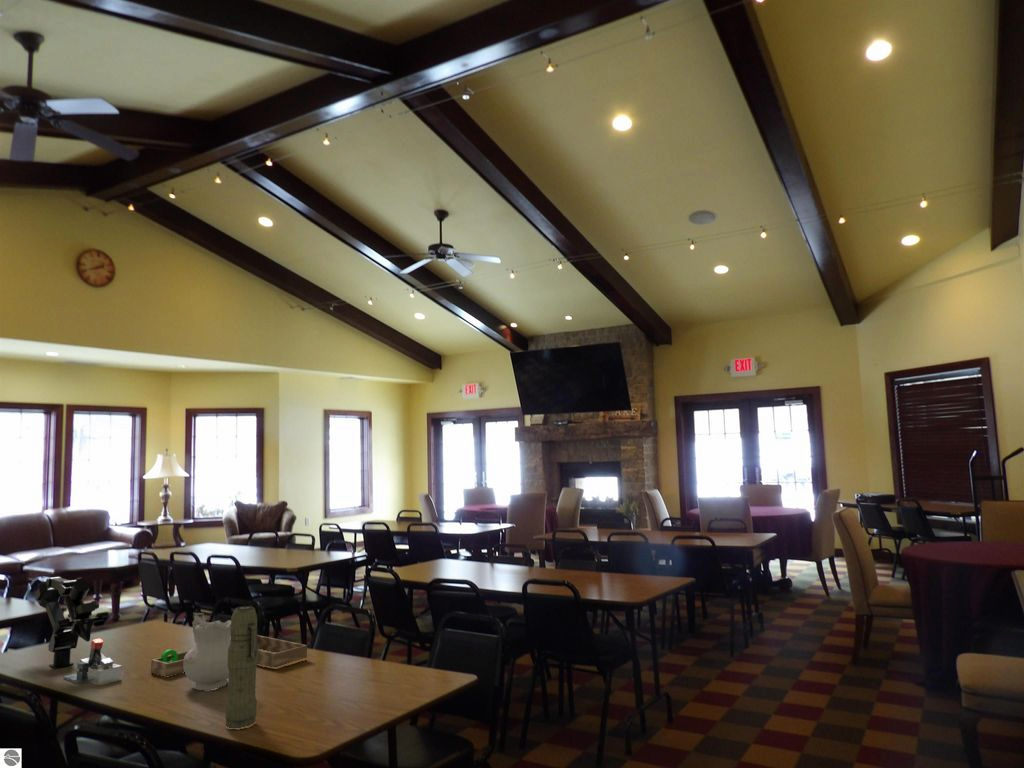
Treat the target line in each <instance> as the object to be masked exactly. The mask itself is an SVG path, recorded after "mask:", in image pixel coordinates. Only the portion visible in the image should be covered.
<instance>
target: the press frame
mask: <svg viewBox="0 0 1024 768" xmlns="http://www.w3.org/2000/svg"><path fill="white" fill-rule="evenodd" d="M98 663H99V664H100V661H99V660H98ZM76 664H77V666H76V670H75V673H73V674H67V675H64V676H62V679H63V678H65V679H64V680H66V679H68V680H70V681H69V682H71V681H73V682H72V683H74V682H76V683H75V684H77V683H78V684H77V685H80V684H85V683H89V682H88V672H87V669H88V663H85V662H80V661H79V662H77V663H76ZM68 680H67V681H68Z"/></svg>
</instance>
